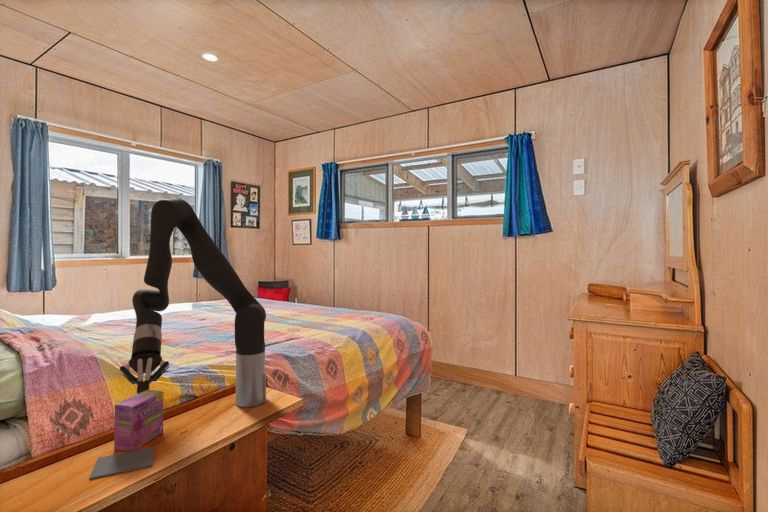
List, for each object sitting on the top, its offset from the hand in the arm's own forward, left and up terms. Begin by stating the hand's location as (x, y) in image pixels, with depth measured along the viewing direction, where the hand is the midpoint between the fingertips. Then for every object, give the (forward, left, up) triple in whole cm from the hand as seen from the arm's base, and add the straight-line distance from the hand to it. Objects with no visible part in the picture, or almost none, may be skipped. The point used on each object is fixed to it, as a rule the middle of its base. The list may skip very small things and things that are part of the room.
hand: (142, 395), depth 106 cm
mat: (+2, +17, -10) cm, 20 cm away
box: (0, +6, -10) cm, 12 cm away
